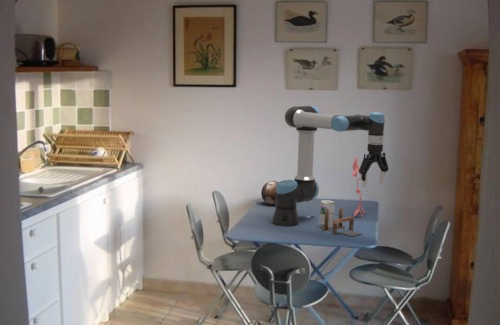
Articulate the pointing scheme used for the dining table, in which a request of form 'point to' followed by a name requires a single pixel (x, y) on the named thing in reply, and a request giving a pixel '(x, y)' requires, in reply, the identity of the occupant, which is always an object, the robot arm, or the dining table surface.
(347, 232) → the pad
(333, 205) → the syrup box
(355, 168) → the figurine
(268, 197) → the wooden sphere
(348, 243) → the dining table surface
